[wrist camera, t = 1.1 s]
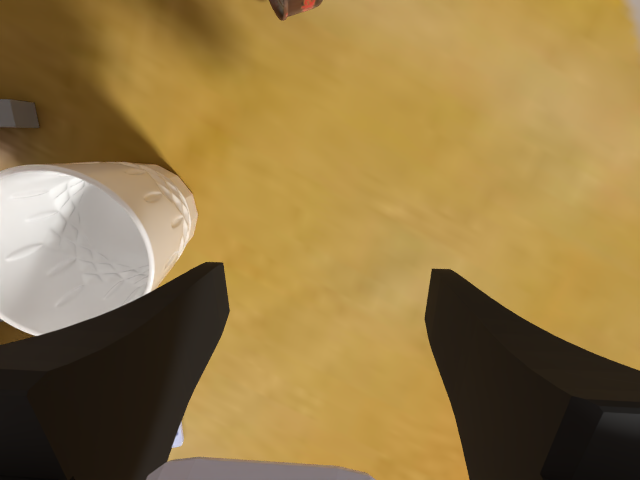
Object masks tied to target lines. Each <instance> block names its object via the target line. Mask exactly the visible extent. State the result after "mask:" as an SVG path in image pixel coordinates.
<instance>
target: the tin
mask: <svg viewBox="0 0 640 480" xmlns="http://www.w3.org/2000/svg"><path fill="white" fill-rule="evenodd" d="M269 1H270V4H271V6H272V8H273V10H274V12H275V14H276V15H277V17H278V18H279V19H280V20H282V21H283V20H285V19H286V18H287V17H289V16H292V15H295V14H298V13H301V12H304V11H308V10H310V9H313V8H315V7H317V6H319V5H320V4H321V2H322V1H323V0H269Z"/></svg>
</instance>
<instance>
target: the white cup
mask: <svg viewBox="0 0 640 480" xmlns="http://www.w3.org/2000/svg"><path fill="white" fill-rule="evenodd" d="M197 218H198V213H197V209H196V205H195V201H194V197H193V194H192V193H191V191H190V190H189V189H188V188H187V186H186V185H185V184H184V183H183V181H182V180H181V179H180V178H179V177H178V176H177V175H175V174H174V173H172V172H170V171H168V170H166V169H164V168H162V167H160V166H158V165H156V164H143V163H129V162H78V163H58V164H31V165H21V166H16V167H11V168H8V169H5V170H2V171H0V319H1V320H3V321H4V322H6V323H8V324H9V325H11V326H13V327H15V328H17V329H19V330H21V331H24V332H26V333H29V334H31V335H34V336H39V335H42V334H45V333H49V332H52V331H56V330H59V329H62V328H65V327H68V326H71V325H74V324H77V323H79V322H82V321H85V320H88V319H91V318H94V317H97V316H99V315H102V314H104V313H107V312H109V311H111V310H114V309H116V308H119V307H121V306H123V305H125V304H127V303H130V302H132V301H134V300H136V299H138V298H140V297H142V296H144V295H145V294H147V293H149V292H151V291H153V290H155V289H157V287H158V286H159V285H160V283H161V282H162V281H163V279H164V278H165V277H166V275H167V274H168V273H169V271H170V270H171V269H172V267H173V266H174V265H175V263H176V261H177V260H178V259H179V257H180V256H181V254H182V252H183V250H184V248H185V246H186V244H187V243H188V242H189V240H190V239H191V238H192V237H193V235H194V231H195V227H196V222H197Z"/></svg>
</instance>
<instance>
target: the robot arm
mask: <svg viewBox="0 0 640 480" xmlns="http://www.w3.org/2000/svg"><path fill="white" fill-rule="evenodd" d="M229 311H230V310H229V302H228V295H227V287H226V280H225V273H224V265H223V263H220V262H205V263H203V264H201V265H199V266H197V267H195V268H193V269H191V270H189V271H188V272H186V273H184V274H182V275H180V276H179V277H177V278H175V279H173V280H172V281H170V282H168V283H166V284H165V285H163V286H161V287H159V288H157V289H155V290H153V291H151V292H149V293H147V294H145V295H144V296H142V297H140V298H138V299H136V300H134V301H132V302H130V303H127V304H125V305H123V306H121V307H119V308H116V309H114V310H111V311H109V312H107V313H104V314H102V315H99V316H97V317H94V318H91V319H88V320H85V321H82V322H79V323H77V324H74V325H71V326H68V327H65V328H62V329H59V330H56V331H52V332H49V333H45V334H42V335H39V336H35V337H31V338H27V339H24V340H20V341H16V342H12V343H8V344H3V345H0V480H376V479H374V478H373V477H371V476H370V475H369V474H367V473H365V472H361V471H356V470H352V469H348V468H344V467H340V466H330V465H314V464H299V463H284V462H269V461H254V460H239V459H224V458H209V457H193V458H185V459H176V460H171V461H168V462H167V460H168V457H169V454H170V451H171V449H172V447H180V446H181V445H182V444H183V441H184V437H183V429H182V418H183V416H184V413H185V410H186V408H187V405H188V402H189V400H190V398H191V396H192V394H193V391H194V389H195V387H196V385H197V383H198V381H199V379H200V377H201V375H202V373H203V371H204V369H205V368H206V366H207V364H208V362H209V360H210V358H211V356H212V354H213V352H214V350H215V348H216V346H217V344H218V342H219V340H220V338H221V335H222V333H223V330H224V327H225V324H226V321H227V318H228V315H229ZM425 323H426V328H427V333H428V338H429V343H430V346H431V349H432V352H433V355H434V358H435V361H436V363H437V366H438V369H439V372H440V375H441V377H442V380H443V383H444V386H445V388H446V391H447V394H448V397H449V400H450V402H451V406H452V409H453V412H454V415H455V419H456V423H457V427H458V431H459V435H460V439H461V444H462V448H463V452H464V457H465V461H466V466H467V470H468V474H469V479H470V480H640V371H639V370H636V369H633V368H630V367H628V366H625V365H622V364H620V363H617V362H614V361H611V360H609V359H606V358H604V357H601V356H599V355H596V354H594V353H592V352H589V351H587V350H585V349H583V348H580V347H578V346H576V345H574V344H571V343H569V342H567V341H565V340H563V339H561V338H558V337H556V336H554V335H552V334H550V333H549V332H547V331H545V330H543V329H541V328H539V327H537V326H535V325H534V324H532V323H530V322H528V321H526V320H525V319H523V318H521V317H520V316H518V315H516V314H515V313H513V312H512V311H510V310H508V309H507V308H505V307H504V306H502V305H501V304H499V303H498V302H496V301H495V300H493V299H492V298H490V297H489V296H488V295H486V294H485V293H483V292H482V291H481V290H479V289H478V288H476V287H475V286H474V285H472V284H471V283H470V282H468V281H467V280H466V279H464V278H463V277H461V276H460V275H459V274H457V273H456V272H454V271H452V270H451V269H432V272H431V279H430V285H429V292H428V299H427V306H426V312H425Z"/></svg>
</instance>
